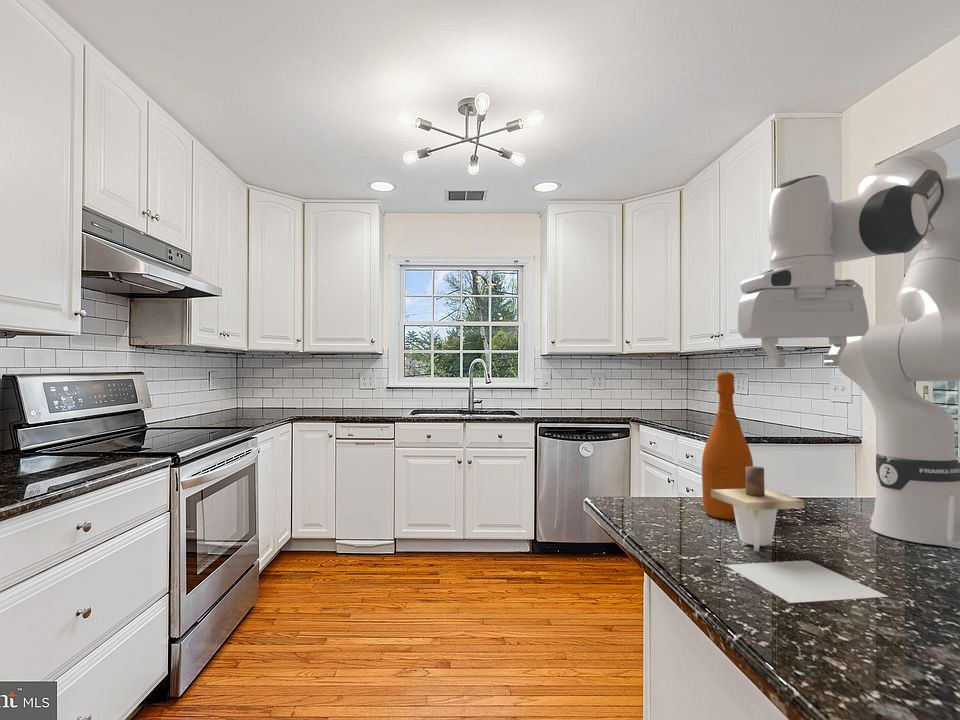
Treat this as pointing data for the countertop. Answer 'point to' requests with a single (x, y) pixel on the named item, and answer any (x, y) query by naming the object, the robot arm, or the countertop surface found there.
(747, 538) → the cup
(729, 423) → the wine bottle
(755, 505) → the lid
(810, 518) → the countertop surface
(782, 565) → the mat
